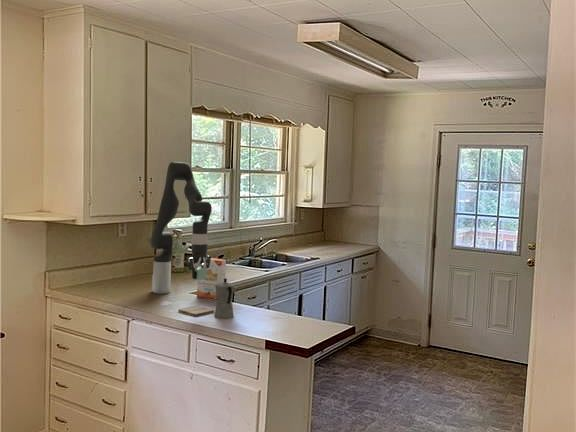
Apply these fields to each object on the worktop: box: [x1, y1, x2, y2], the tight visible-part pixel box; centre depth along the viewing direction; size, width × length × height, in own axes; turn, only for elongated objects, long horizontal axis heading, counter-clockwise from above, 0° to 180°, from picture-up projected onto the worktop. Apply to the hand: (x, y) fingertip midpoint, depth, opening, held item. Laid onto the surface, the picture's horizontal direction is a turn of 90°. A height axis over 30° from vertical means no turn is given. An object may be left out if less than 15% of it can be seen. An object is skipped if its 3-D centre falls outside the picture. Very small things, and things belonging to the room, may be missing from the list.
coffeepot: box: [214, 277, 236, 319], centre depth 267 cm, size 15×9×18 cm, turn 24°
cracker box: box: [196, 257, 227, 300], centre depth 306 cm, size 14×6×21 cm, turn 73°
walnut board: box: [178, 304, 215, 318], centre depth 274 cm, size 12×12×1 cm
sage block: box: [191, 268, 207, 281], centre depth 275 cm, size 5×5×5 cm
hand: (198, 278), depth 275 cm, fingers closed on sage block, 5 cm apart
